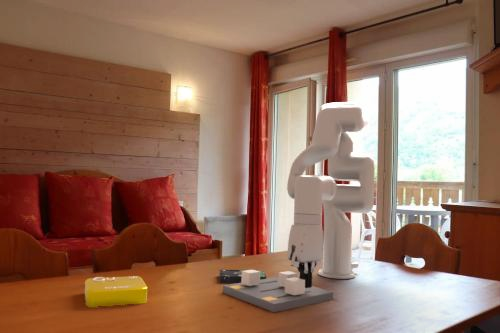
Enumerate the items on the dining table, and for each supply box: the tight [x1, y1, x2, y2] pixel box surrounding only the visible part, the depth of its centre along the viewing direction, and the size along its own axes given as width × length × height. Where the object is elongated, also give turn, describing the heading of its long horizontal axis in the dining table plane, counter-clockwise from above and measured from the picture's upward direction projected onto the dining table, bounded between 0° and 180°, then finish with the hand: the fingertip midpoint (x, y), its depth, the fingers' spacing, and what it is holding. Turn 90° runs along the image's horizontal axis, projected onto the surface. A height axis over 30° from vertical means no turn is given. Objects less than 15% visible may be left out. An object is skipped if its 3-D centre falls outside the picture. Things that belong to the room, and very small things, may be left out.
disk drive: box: [219, 269, 267, 284], centre depth 144 cm, size 10×3×15 cm
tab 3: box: [285, 276, 305, 295], centre depth 120 cm, size 4×4×4 cm
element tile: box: [84, 275, 148, 308], centre depth 118 cm, size 15×15×5 cm
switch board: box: [222, 276, 334, 313], centre depth 125 cm, size 22×22×2 cm
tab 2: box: [278, 270, 298, 287], centre depth 127 cm, size 4×4×4 cm
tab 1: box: [241, 269, 260, 286], centre depth 128 cm, size 4×4×4 cm
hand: (305, 286), depth 122 cm, fingers closed
